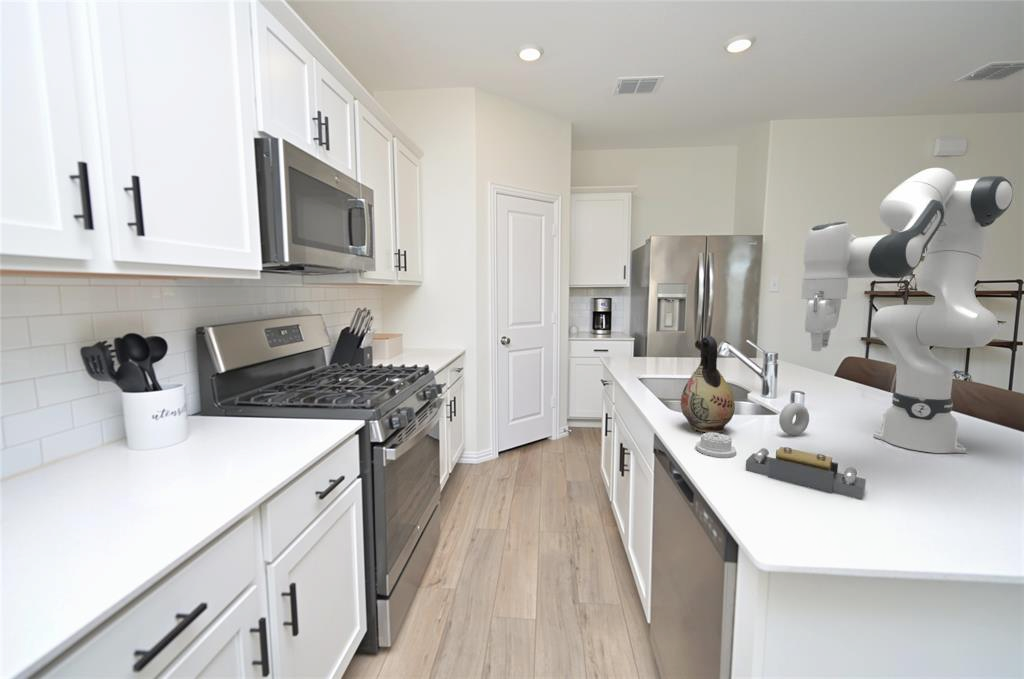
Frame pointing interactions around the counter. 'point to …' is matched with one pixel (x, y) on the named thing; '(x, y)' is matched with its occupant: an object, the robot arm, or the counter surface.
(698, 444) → the mechanical component
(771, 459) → the linear slide rail
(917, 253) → the robot arm
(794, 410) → the donut
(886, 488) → the counter surface
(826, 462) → the gold block with knob
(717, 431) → the ceramic jug
